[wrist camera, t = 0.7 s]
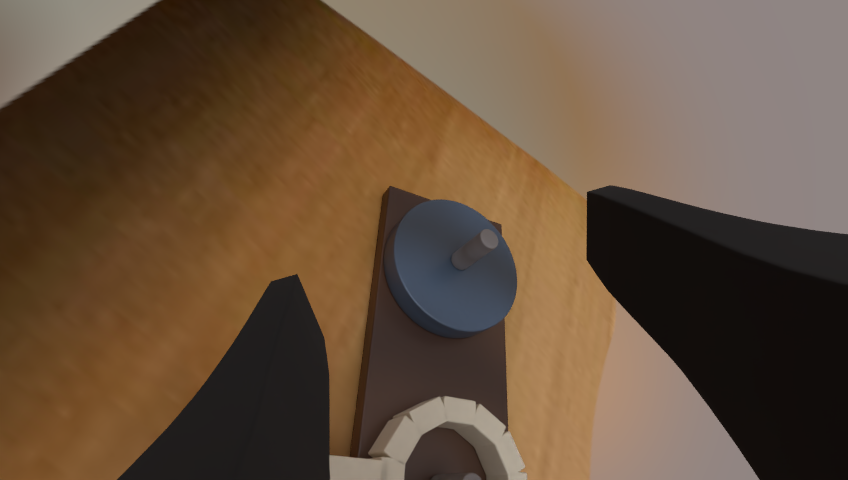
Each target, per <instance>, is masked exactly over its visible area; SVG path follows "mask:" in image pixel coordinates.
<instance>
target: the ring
mask: <svg viewBox="0 0 848 480" xmlns="http://www.w3.org/2000/svg"><path fill="white" fill-rule="evenodd" d="M435 427H442V428H449V429H454V430H455V431H456V432H457V433H459V434H460V435H461V436H462V437H463V438H464V439H466V440H467V441H468V442H469V443H470V444H471V445H472V446H474V448H475V450H476V453H477V455H478V457H479V460H480V462H481V465H482V467H483V469H484V472H485V474H486V480H527V473H525V472H519V471H521V470H522V469H524V468H525V465H524V463H523V460H522V458H521V456H520V454H519V451H518V449H517V447H516V445H515V442H514V440H513V438H512V436H511V434H510V432H509V431H506V432H504V430H505V428H506V426H505V425H504V424H503V423H502V422H500V421H499V420H498V419H497V418H496V417H495V416H494V415H492V414H491V413H490V412H489V411H488V410H487V409H486V408H485V407H483V406H482V405H481V404H477V405H476V402H475V401H472V400H466V399H460V398H454V397H448V396H443V397H436V398H433V399H430V400H427V401H424V402H421V403H419V404H417V405H415V406H413V407H411V408H409V409H407V410H405V411H403V412H401V413H399V414H397V415H395V416H393V419H392V420H389V421H388V422H387V424H386V425H385V427H384V429H383V430H382V432H381V433H380V435H379V436H378V438H377V440H376V441H375V443H374V444H373V446H372V448H371V449H370V451H369V452H368V454H369V455H370V456H371V457H372V458H370V459H364V458H354V457H345V456H336V455H329V465H330V480H404V474H405V463H406V462H407V460H408V458H409V456H410V455H411V453H412V451H413V449H414V448H415V446H416V444H417V442H418V441H419V439H420V437H421V435H423V434H424V433H426V432H428V431H430V430H432V429H434V428H435Z"/></svg>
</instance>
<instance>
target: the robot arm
mask: <svg viewBox="0 0 848 480" xmlns="http://www.w3.org/2000/svg"><path fill="white" fill-rule="evenodd" d="M587 261H588V262H589V264H590V265H591V267H592V268H593V270H594V271H595V273H596V274H597V276H598V277H599V279H600V280H601V282H602V283H603V284H604V286H605V287H606V289H607V290H608V291H609V292H610V293H611V294H612V296H613V297H614V298H615V299H616V300H617V301H618V302H619V303H620V304H621V305H622V306H623V308H625V310H626V311H627V312H628V313H629V314H630V315H631V316H632V317H633V318H634V319H635V320H636V321H637V322H638V323H639V325H640V326H641V327H642V328H643V329H644V330H645V331H646V332H647V333H648V334H649V335H650V336H651V337H652V338H653V339H654V340H655V342H656V343H658V345H659V346H660V347H661V348H662V349H663V350H664V351H665V352H666V353H667V354H668V355H669V356H670V358H671V359H672V360H673V361H674V362H675V363H676V365H677V366H678V367H679V368H680V369H681V370H682V372H683V373H684V374H685V375H686V377H687V378H688V380H689V381H690V382H691V383H692V385H693V386H694V387H695V389H696V390H697V391H698V393H699V394H700V395H701V397H702V398H703V399H704V401H705V402H706V403H707V404H708V406H709V407H710V409H711V410H712V411H713V413H714V414H715V416H716V417H717V418H718V420H719V421H720V422H721V424H722V425H723V427H724V428H725V430H726V431H727V432H728V434H729V435H730V437H731V438H732V439H733V441H734V442H735V444H736V445H737V446H738V448H739V449H740V451H741V452H742V454H743V455H744V457H745V458H746V460H747V461H748V463H749V464H750V466H751V467H752V469H753V470H754V472H755V473H756V475H757V476H758V478H759V479H760V480H848V234H839V233H831V232H823V231H815V230H808V229H802V228H796V227H789V226H783V225H777V224H771V223H766V222H761V221H755V220H751V219H746V218H741V217H737V216H733V215H728V214H723V213H719V212H715V211H711V210H707V209H702V208H699V207H695V206H691V205H687V204H683V203H680V202H676V201H672V200H669V199H665V198H661V197H657V196H654V195H650V194H646V193H643V192H639V191H635V190H631V189H627V188H622V187H617V186H606V187H603V188H599V189H596V190H592V191H589V192H587ZM117 480H330V465H329V370H328V362H327V354H326V347H325V340H324V336H323V334H322V331H321V329H320V327H319V324H318V322H317V320H316V317H315V315H314V313H313V310H312V308H311V305H310V303H309V301H308V298H307V296H306V294H305V291H304V289H303V287H302V284H301V282H300V280H299V277H298V275H297V274H296V275H292V276H289V277H285V278H282V279H278V280H275V281H271V283H270V284H269V286H268V287H267V289H266V291H265V292H264V294H263V296H262V297H261V299H260V300H259V302H258V304H257V305H256V307H255V309H254V310H253V312H252V314H251V315H250V317H249V319H248V320H247V322H246V324H245V325H244V327H243V328H242V330H241V331H240V333H239V335H238V336H237V338H236V339H235V341H234V342H233V344H232V345H231V347H230V348H229V350H228V351H227V353H226V354H225V355H224V357H223V358H222V360H221V361H220V362H219V364H218V365H217V367H216V368H215V370H214V371H213V372H212V374H211V375H210V377H209V378H208V379H207V381H206V382H205V383H204V385H203V386H202V387H201V389H200V390H199V391H198V392H197V394H196V395H195V396H194V397H193V399H192V400H191V401H190V402H189V403H188V404H187V406H186V407H185V408H184V409H183V410H182V412H181V413H180V414H179V415H178V416H177V417H176V419H175V420H174V421H173V422H172V423H171V424H170V425H169V427H168V428H167V429H166V430H165V431H164V432H163V433H162V434H161V435H160V436H159V437H158V438H157V439H156V440H155V441H154V442H153V443H152V444H151V446H150V447H149V448H148V449H147V450H146V451H145V452H144V453H143V454H142V455H141V456H140V457H139V458H138V459H137V460H136V461H135V462H134V463H133V464H132V465H131V466H130V467H129V468H128V469H127V470H126V471H125V472H124V473H123V474H122V475H121V476H120V477H119V478H118V479H117Z"/></svg>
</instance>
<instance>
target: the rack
mask: <svg viewBox="0 0 848 480" xmlns="http://www.w3.org/2000/svg"><path fill="white" fill-rule="evenodd" d="M516 290H517V275H516V268H515V263H514V260H513V257H512V254H511V252H510V250H509V247H508V246H507V244H506V242H505V240H504V239H503V237H502V229H501V224H498V223H495V222H492V221H489V220H487V219H486V218H485V217H484V216H482V215H481V214H480V213H478V212H477V211H475V210H474V209H472V208H470V207H468V206H466V205H463V204H461V203H458V202H455V201H450V200H429V199H426V198H423V197H421V196H418V195H415V194H412V193H409V192H406V191H403V190H401V189H398V188H395V187H392V186H390V187H389V188H388V189H387V190H386V192H385V193H384V194H383V200H382V208H381V216H380V223H379V231H378V239H377V247H376V255H375V263H374V271H373V279H372V287H371V294H370V302H369V310H368V318H367V326H366V334H365V342H364V350H363V357H362V365H361V373H360V381H359V389H358V397H357V405H356V413H355V421H354V428H353V436H352V444H351V452H350V457H354V458H364V459H370V458H372V457H371V456H370V455H369V454H368V452H369V451H370V449H371V448H372V446H373V444H374V443H375V441H376V440H377V438H378V436H379V435H380V433H381V432H382V430H383V429H384V427H385V425H386V424H387V422H388V421H389V420H392V419H393V416H395V415H397V414H399V413H401V412H403V411H405V410H407V409H409V408H411V407H413V406H415V405H417V404H419V403H421V402H424V401H427V400H430V399H433V398H436V397H443V396H448V397H454V398H460V399H466V400H472V401H475V402H476V405H477V404H481V405H482V406H483V407H485V408H486V409H487V410H488V411H489V412H490V413H491V414H492V415H494V416H495V417H496V418H497V419H498V420H499V421H500V422H502V423H503V424H504V425H505V426H506V428H505V430H504V432H506V431H508V413H507V383H506V352H505V321H504V317H505V316H506V315H507V314H508V312H509V311H510V309H511V307H512V305H513V302H514V299H515V296H516ZM404 480H486V474H485V472H484V469H483V467H482V465H481V462H480V460H479V457H478V455H477V453H476V450H475V448H474V446H472V445H471V444H470V443H469V442H468V441H467V440H466V439H464V438H463V437H462V436H461V435H460V434H459V433H457V432H456V431H455V430H454V429H449V428H442V427H435V428H434V429H432V430H430V431H428V432H426V433H424V434H423V435H421V437H420V439H419V441H418V442H417V444H416V446H415V448H414V449H413V451H412V453H411V455H410V456H409V458H408V460H407V462H406V463H405V474H404Z"/></svg>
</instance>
